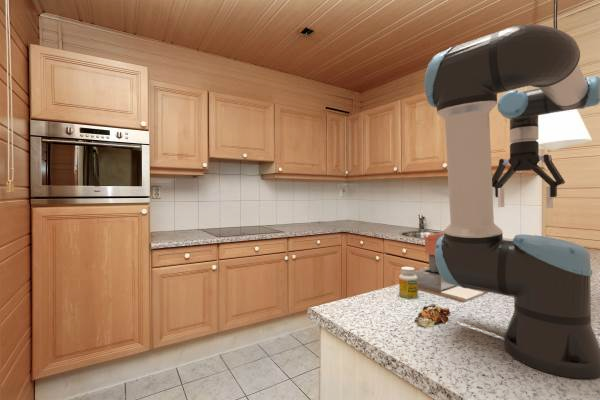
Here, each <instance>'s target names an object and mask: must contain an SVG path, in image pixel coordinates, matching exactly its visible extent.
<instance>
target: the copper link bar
mask: <svg viewBox="0 0 600 400" xmlns="http://www.w3.org/2000/svg"><path fill="white" fill-rule="evenodd" d="M443 235H444V231H443V232H438V233H432V234H424V236H423V240H424V254H426V255H428V267H429V273H434V274H438V275H439V271H438V269H437V266H436V261H435V249H436V243H437V240H438V239H439V238H440V237H441V236H443Z"/></svg>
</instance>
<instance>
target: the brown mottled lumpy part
mask: <svg viewBox="0 0 600 400" xmlns="http://www.w3.org/2000/svg"><path fill="white" fill-rule="evenodd" d="M431 307H432V308H431ZM451 314H452V313H451V311H450V310H449V308H445V307H443V308H442V307H441V305H440V304H438V305H436V304H435V303H431V304H428V305H424V306H423V307H422V310H421V311H419V312H418V314H417V315H418V316H417V317H415V318H414V323H415V325H416V326H419V327H420V326H421V327H424V328H425V329H431V328H433V327H434V325H435V323H439V322H440V321H442V324H444V325H446V322H447V321H448V320H449V317H448V316H450V315H451ZM448 322H449V321H448ZM448 322H447V323H448ZM427 327H428V328H427Z"/></svg>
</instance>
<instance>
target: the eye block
mask: <svg viewBox="0 0 600 400" xmlns="http://www.w3.org/2000/svg"><path fill="white" fill-rule="evenodd" d="M414 274H415V275H416V276H417V280H418V287H421V288H425V289H429V290H432V291H436V292H440V293H441V292H442V291H445V290H448V289H451V288H454V287H457V285H453V284H450V283H448V282H446V281H445V280H444V279H443V278H442V277H441V275H440V274H439V275H438V274H434V273H429V266H427V267H423V268H420V269H415V273H414Z"/></svg>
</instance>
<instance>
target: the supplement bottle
mask: <svg viewBox="0 0 600 400" xmlns="http://www.w3.org/2000/svg"><path fill="white" fill-rule="evenodd" d="M415 270H416V269H415V267H413V266H402V267H400V272H401V274H399V276H398V282H399V283H398V286H399V287H398V289H399V296H400V297H401V298H402V299H403V298H404V299H410V300H411V299H412V300H414V299H417V298H419V297H418V296H419V295H418V294H419V293H418V291H419V290H418V280H417V276H416V275H415V274H414V273H415Z"/></svg>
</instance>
